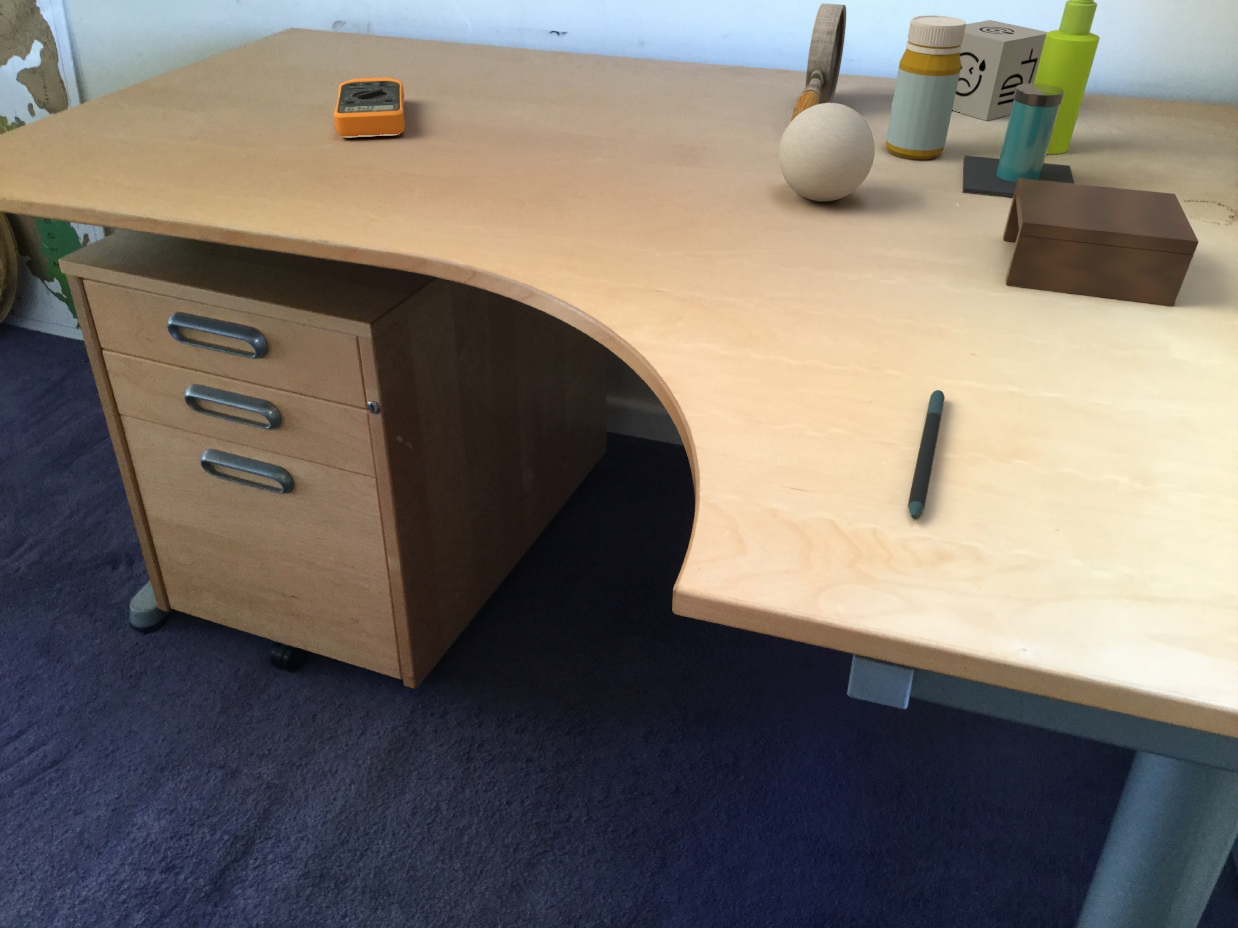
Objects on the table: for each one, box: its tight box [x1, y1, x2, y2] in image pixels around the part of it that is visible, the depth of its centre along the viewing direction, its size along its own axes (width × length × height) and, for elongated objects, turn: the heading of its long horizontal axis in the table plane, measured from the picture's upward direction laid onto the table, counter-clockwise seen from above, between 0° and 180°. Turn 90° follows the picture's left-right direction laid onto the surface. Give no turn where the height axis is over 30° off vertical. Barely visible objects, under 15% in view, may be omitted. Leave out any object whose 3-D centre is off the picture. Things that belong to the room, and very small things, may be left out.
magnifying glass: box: [789, 3, 847, 124], centre depth 126 cm, size 13×3×25 cm
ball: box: [778, 102, 876, 202], centre depth 100 cm, size 10×10×10 cm
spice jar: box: [996, 84, 1064, 183], centre depth 105 cm, size 5×5×10 cm
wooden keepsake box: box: [1002, 178, 1200, 307], centre depth 87 cm, size 14×12×6 cm
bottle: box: [885, 14, 967, 161], centre depth 112 cm, size 7×7×15 cm
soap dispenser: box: [1034, 0, 1101, 155], centre depth 112 cm, size 6×7×20 cm
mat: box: [962, 154, 1075, 198], centre depth 108 cm, size 12×12×1 cm
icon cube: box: [952, 19, 1048, 122], centre depth 130 cm, size 10×10×10 cm
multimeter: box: [333, 77, 406, 137], centre depth 125 cm, size 9×18×3 cm, turn 11°
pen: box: [907, 389, 946, 521], centre depth 63 cm, size 1×16×1 cm, turn 160°
